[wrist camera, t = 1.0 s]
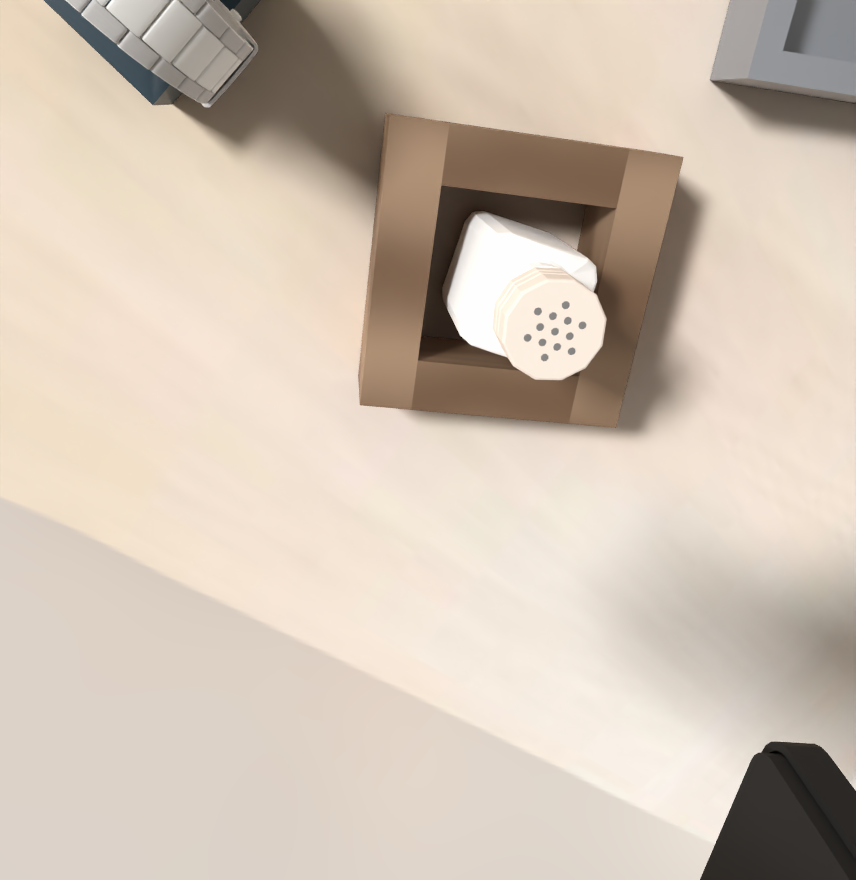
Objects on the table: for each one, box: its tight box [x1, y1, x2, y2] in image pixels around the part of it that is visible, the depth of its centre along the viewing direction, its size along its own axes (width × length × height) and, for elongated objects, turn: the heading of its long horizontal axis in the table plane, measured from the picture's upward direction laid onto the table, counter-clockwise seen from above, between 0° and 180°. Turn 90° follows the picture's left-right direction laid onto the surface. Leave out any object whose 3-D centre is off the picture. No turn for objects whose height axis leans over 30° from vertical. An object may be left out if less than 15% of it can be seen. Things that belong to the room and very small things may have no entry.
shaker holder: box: [358, 113, 683, 428], centre depth 30 cm, size 10×10×4 cm
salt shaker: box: [442, 211, 607, 380], centre depth 27 cm, size 4×4×10 cm
